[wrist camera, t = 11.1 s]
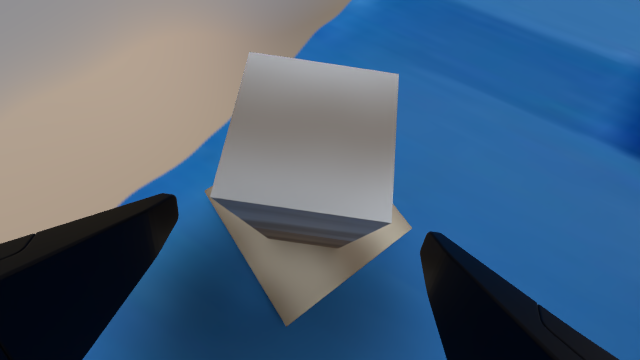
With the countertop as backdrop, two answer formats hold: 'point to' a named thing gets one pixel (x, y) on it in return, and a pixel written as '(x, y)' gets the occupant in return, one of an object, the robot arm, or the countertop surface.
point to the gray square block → (310, 151)
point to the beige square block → (304, 261)
